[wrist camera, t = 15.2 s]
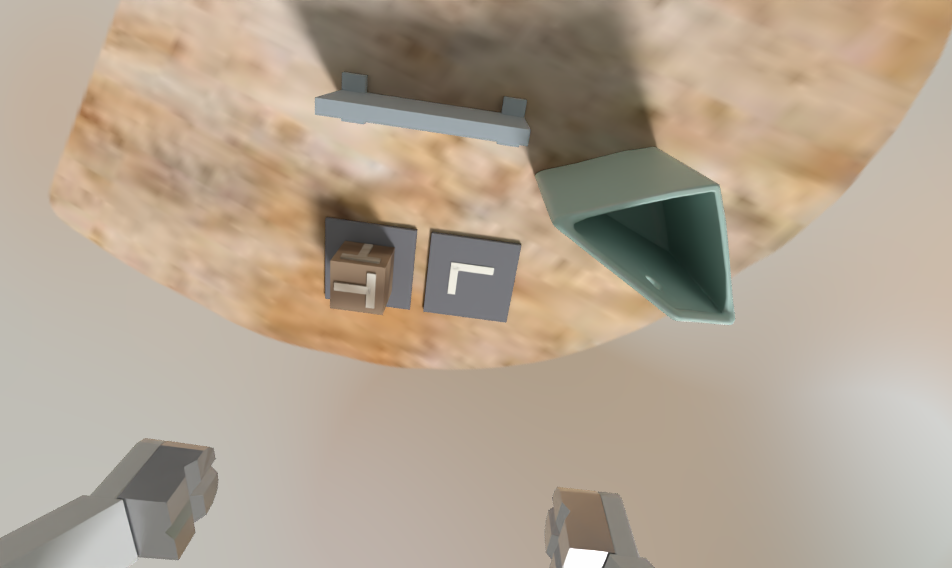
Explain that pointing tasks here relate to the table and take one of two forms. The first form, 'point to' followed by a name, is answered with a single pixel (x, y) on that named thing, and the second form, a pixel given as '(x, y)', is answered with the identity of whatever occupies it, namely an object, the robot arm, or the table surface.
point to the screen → (424, 113)
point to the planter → (649, 228)
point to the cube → (361, 277)
